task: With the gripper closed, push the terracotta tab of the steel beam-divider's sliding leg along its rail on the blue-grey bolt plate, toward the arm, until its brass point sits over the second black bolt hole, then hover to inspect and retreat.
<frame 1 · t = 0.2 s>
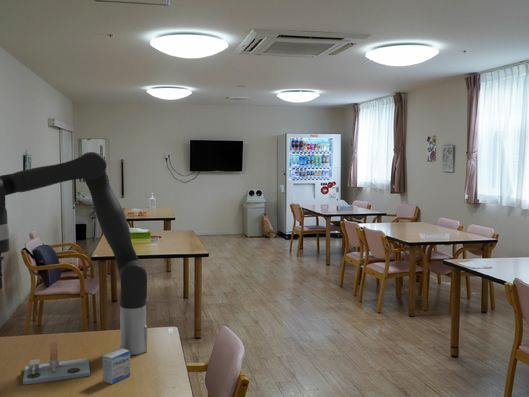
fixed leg: (34, 373, 169), resting on bolt plate
medicine box: (116, 379, 166), on the table
sliding leg: (53, 355, 169), point 6 cm above the table, slide at 0.0 cm
bolt plate: (57, 372, 170), on the table
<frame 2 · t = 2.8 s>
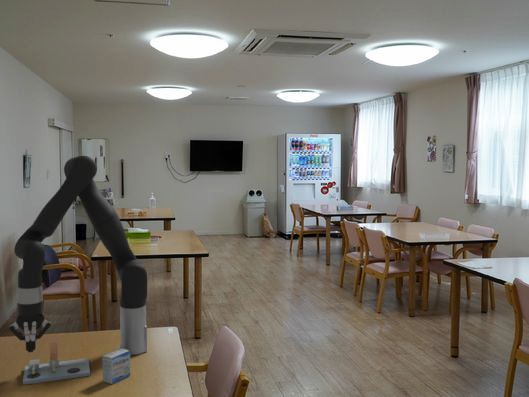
hand: (30, 351, 168), 8 cm above the table, fingers closed
nothing on the table moved.
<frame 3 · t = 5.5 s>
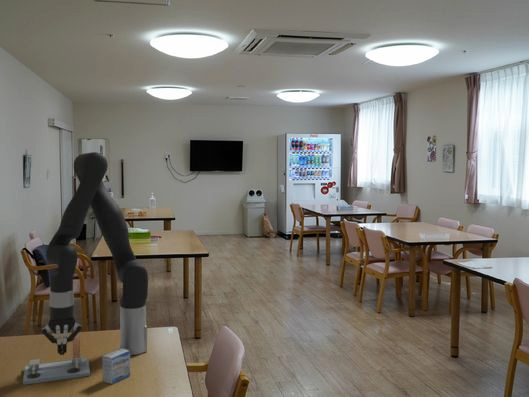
hand: (62, 354, 172), 6 cm above the table, fingers closed
sliding leg: (76, 352, 172), point 6 cm above the table, slide at 7.0 cm, touching hand
everything else where it was.
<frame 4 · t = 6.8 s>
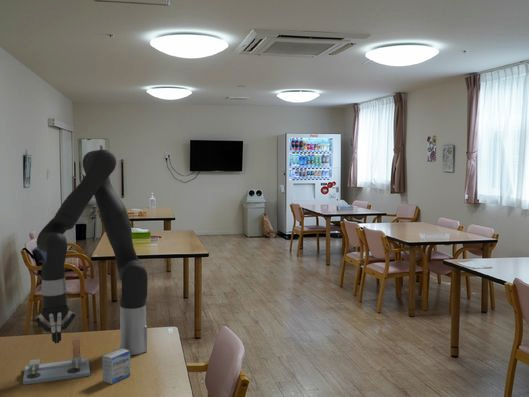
hand: (56, 342, 170), 10 cm above the table, fingers closed
sliding leg: (76, 352, 172), point 6 cm above the table, slide at 7.0 cm
everything else where it was.
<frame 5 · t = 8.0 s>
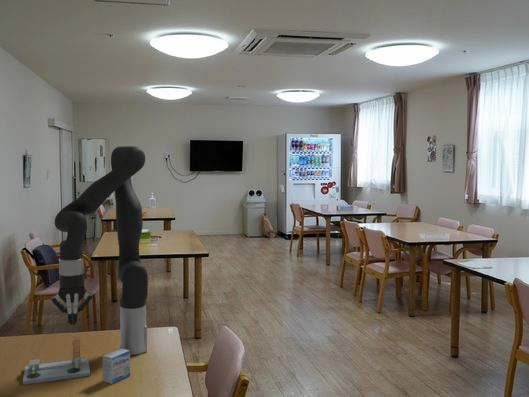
hand: (72, 324, 168), 17 cm above the table, fingers closed
nothing on the table moved.
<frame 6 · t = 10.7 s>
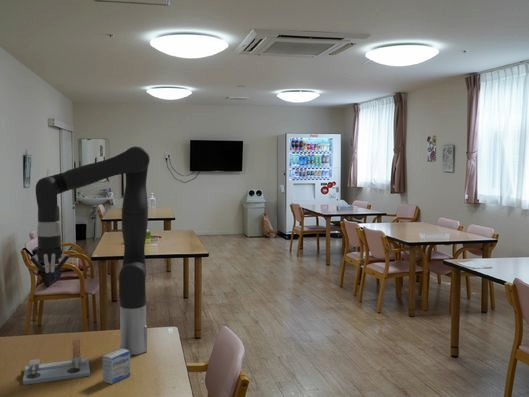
hand: (50, 282, 181), 27 cm above the table, fingers closed
nothing on the table moved.
at the end: sliding leg slide at 7.0 cm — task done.
